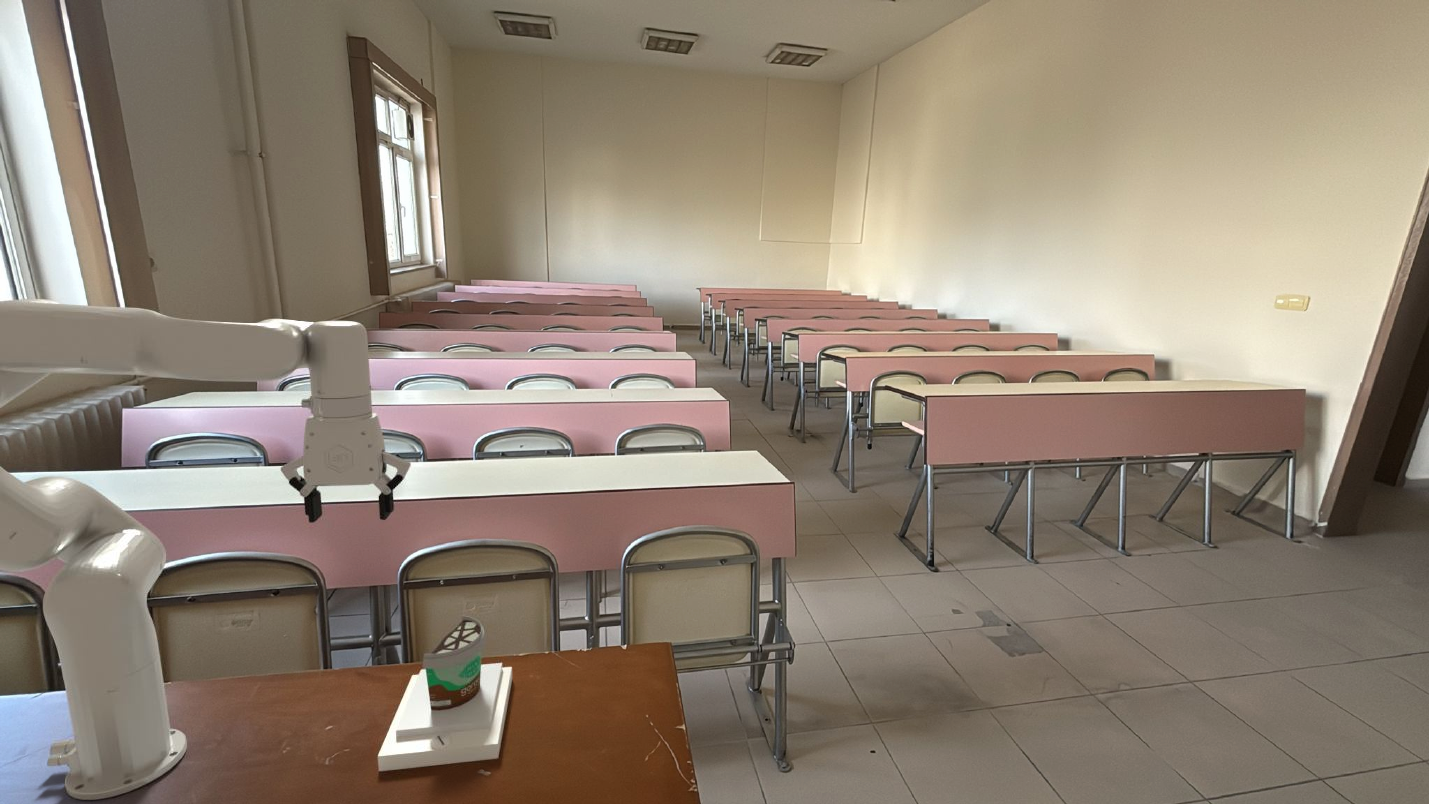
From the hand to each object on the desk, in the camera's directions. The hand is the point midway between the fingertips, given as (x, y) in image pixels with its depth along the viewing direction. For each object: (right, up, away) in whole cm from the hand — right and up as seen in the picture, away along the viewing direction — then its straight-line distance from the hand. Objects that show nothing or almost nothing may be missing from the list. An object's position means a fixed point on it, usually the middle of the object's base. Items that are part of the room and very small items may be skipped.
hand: (351, 518), depth 98 cm
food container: (+15, -29, +5) cm, 33 cm away
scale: (+14, -32, +4) cm, 35 cm away
